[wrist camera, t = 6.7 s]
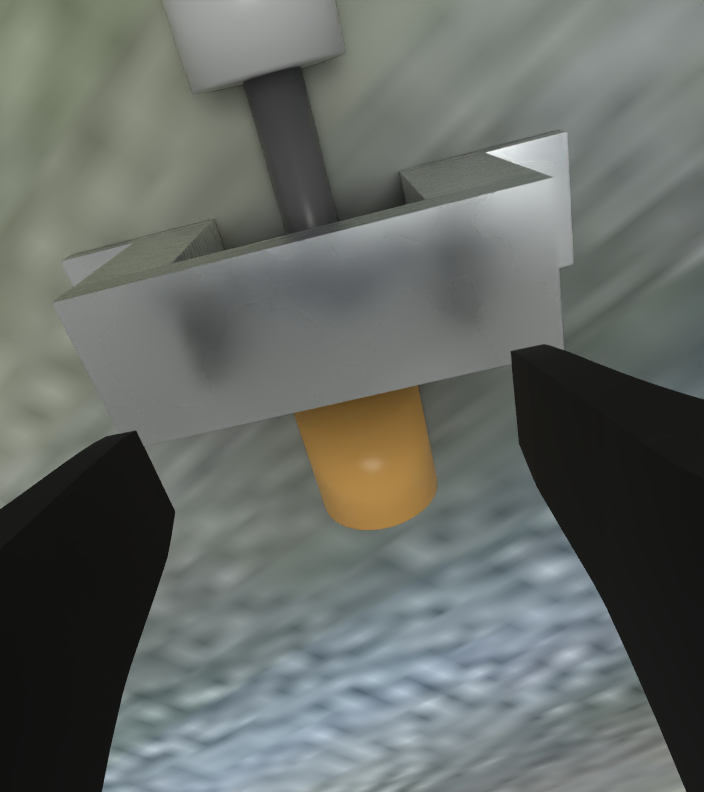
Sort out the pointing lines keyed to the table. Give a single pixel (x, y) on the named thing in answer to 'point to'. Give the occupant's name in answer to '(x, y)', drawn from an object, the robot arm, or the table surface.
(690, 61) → the table surface
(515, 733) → the table surface
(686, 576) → the robot arm
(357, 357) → the housing
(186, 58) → the plug
